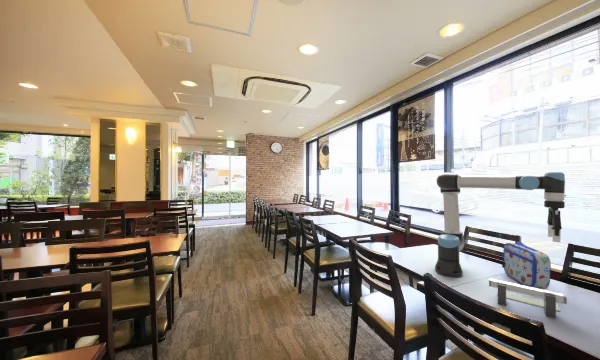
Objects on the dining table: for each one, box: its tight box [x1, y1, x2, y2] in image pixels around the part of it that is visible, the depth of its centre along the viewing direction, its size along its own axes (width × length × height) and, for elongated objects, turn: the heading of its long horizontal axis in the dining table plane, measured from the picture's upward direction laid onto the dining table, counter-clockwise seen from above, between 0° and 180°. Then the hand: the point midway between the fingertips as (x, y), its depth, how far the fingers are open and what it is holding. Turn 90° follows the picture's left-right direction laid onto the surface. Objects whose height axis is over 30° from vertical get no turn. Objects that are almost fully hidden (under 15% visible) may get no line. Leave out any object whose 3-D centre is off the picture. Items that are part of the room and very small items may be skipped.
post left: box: [497, 279, 507, 307], centre depth 114 cm, size 3×6×10 cm, turn 139°
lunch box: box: [501, 241, 552, 290], centre depth 137 cm, size 28×10×22 cm, turn 168°
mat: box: [496, 289, 561, 312], centre depth 115 cm, size 22×7×1 cm, turn 49°
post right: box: [543, 289, 557, 320], centre depth 103 cm, size 3×6×10 cm, turn 139°
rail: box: [488, 278, 568, 305], centre depth 108 cm, size 26×3×3 cm, turn 49°
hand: (553, 239), depth 127 cm, fingers open, 13 cm apart
